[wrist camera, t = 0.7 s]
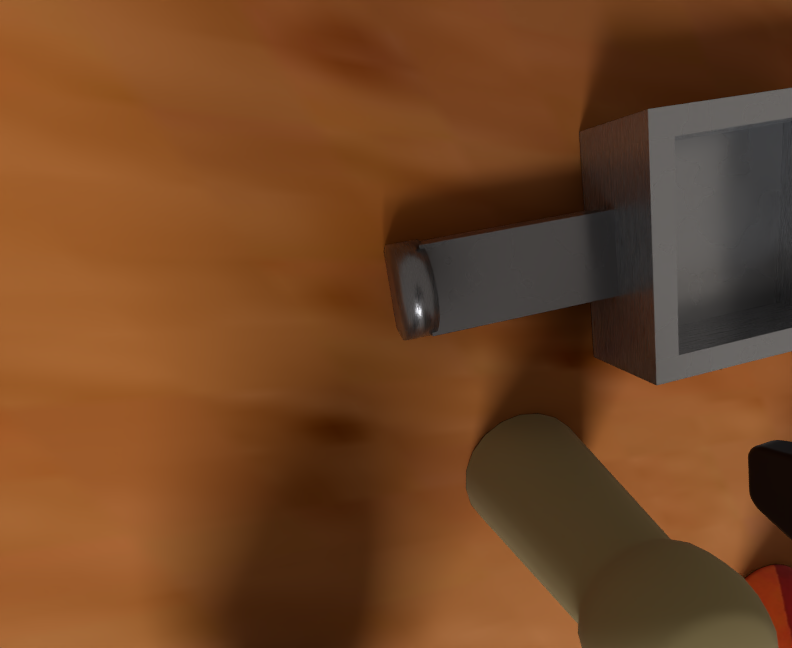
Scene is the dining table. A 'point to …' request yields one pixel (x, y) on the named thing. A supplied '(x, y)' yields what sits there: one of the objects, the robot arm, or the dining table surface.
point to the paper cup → (776, 598)
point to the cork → (605, 547)
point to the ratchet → (638, 245)
